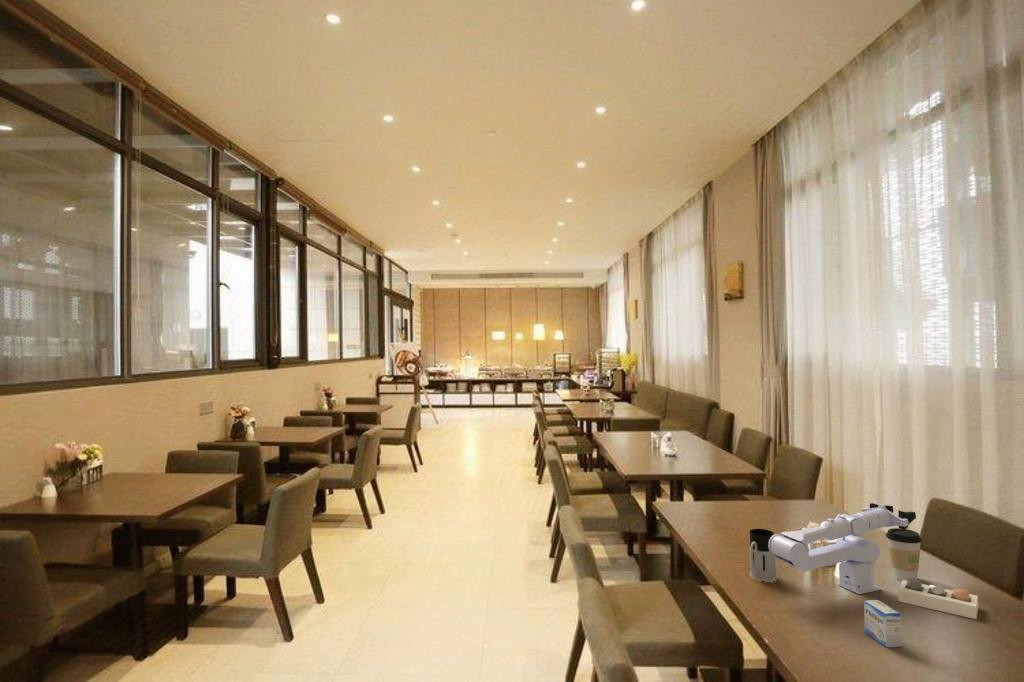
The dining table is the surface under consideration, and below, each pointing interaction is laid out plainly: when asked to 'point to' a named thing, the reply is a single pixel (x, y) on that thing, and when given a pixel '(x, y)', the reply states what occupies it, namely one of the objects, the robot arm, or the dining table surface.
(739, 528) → the dining table surface
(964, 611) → the cream rectangular tray
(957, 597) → the tan rounded lump
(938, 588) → the grey rock
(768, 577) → the glass holder
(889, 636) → the medicine box
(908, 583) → the grey stone
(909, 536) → the coffee cup
